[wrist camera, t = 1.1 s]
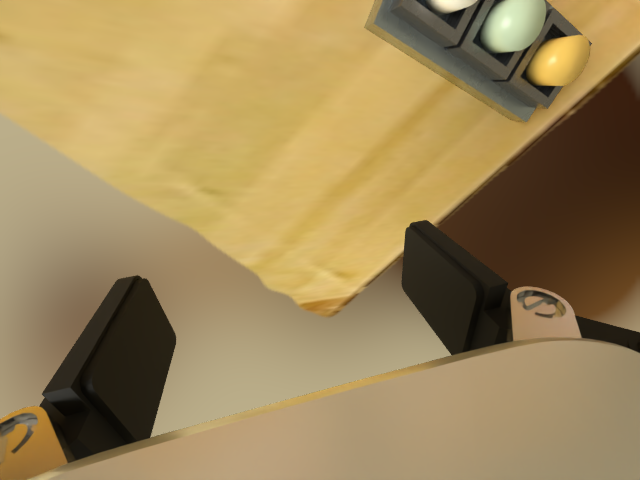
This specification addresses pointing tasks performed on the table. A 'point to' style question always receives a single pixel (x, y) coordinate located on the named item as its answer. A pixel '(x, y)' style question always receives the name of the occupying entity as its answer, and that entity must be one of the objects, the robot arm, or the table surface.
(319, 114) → the table surface
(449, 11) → the ivory button
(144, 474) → the robot arm
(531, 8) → the sage button
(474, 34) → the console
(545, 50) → the amber button
